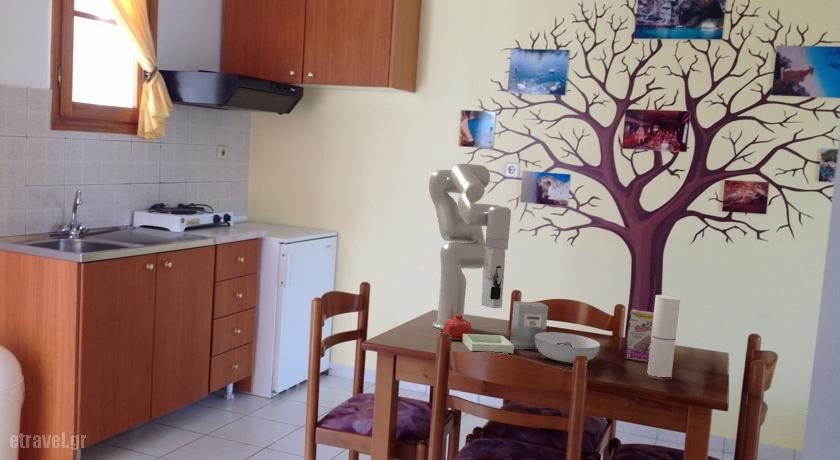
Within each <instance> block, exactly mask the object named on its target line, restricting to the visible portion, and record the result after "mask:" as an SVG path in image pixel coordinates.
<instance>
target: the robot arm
mask: <svg viewBox="0 0 840 460" xmlns="http://www.w3.org/2000/svg"><path fill="white" fill-rule="evenodd" d="M490 180H491V175H490V171H489V169H488V167H486V166H485V165H481V164H472V163H471V164H470V163H458V164H456V165H454V166H453V167H452V168H451V169H440V170H435V171H433V172H432V173H431V175H430V177H429V182H428V191H429V195H430V199H431V200H432V203H433V205H434V208H435V211H436V217H437V223H438V227H439V233H440V236H441V239H442V240H444V241H447V242H446V243H445V244H443V245H442V247H441V248H440V254H439V258H440V282H439V283H440V284H439V295H438V304H437V305H438V307H437V318H436V320H434V321H433V322H432V327H433V328H436V329H440V330H443V329H444V326H445V323H446V321H447V320H448V319H452V318H456V315H457V314H460V315H462V316H463V317H462V319H464V316H465V315H464V314H465V313H464V312H465V304H466V303H465V301H466V291H467V290H466V289H467V278H466V275H465V274H464V272H463V269H469V270H473V269H477V270H478V269H482V271H483V270H485V276H486V277H487V278H489V279H491V277H492V287H491V293H490V299H496V300H499V299H500V293H501V283H502V281H501V280H502V278H503V276H504V277H505V265H506V263H505V262H506V250H507V251H508V250H509V238H510V229H511V218H512V217H511V216H512V211H511V208H510V207H506V206H501V205H499V204H489V203H477V202H479V201H480V200H481V199H482V198H483V197H484V195H485V191H486V190H485V188H487V187H488V185H489V183H490ZM449 193H450V194H451V193H453V194H459V197H458V200H457V202H456V200H455V199H454V198H453V197H452V196H451V195H450V194H449ZM483 227H486V233H485V235H484V231H483ZM484 236H485V237H484ZM495 273H496V276H497V278H494V276H495ZM494 280H496V281H494Z"/></svg>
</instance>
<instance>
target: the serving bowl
mask: <svg viewBox="0 0 840 460" xmlns="http://www.w3.org/2000/svg"><path fill="white" fill-rule="evenodd" d="M534 337H535V345H536V347H537V349H538V350H537V351H538V352H539V353H540V354H541V355H542V356H544V357H546V358H548V359H551V360H552V359H553V360H552V361H554V360H557V361H562V362H569V363H568V364H570V363H573V360H574V358H575V356H586V357H587V359H588V361H587V362H589V361H591V360H593V359H594V358H596V356H597V355H598V353H599V352H600V347H601V344H600V342H598V341H597V340H595V339H594V338H589V337H586V336H583V335H579V334H578V335H577V334H573V333H566V332H557V331H556V332H555V331H551V332H550V331H549V332H547V331H546V332H543V333H538V334H536V335H535V336H534ZM566 342H570V343H571V345H572V347H569V346H563V345H557V343H566ZM557 361H556V362H557ZM562 362H561V363H562Z"/></svg>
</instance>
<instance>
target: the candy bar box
mask: <svg viewBox="0 0 840 460" xmlns="http://www.w3.org/2000/svg"><path fill="white" fill-rule="evenodd" d="M653 316H654V312H651V311H646V310H645V311H644V310H637V309H630V312H629V319H628V320H629V321H628V326H627V334H626V336H627V337H626V342H625V343H626V344H625V352H624V358H625V357H630V358H637V359H644V360H649V352H650V343H651V334H652V325H653Z"/></svg>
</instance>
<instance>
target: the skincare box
mask: <svg viewBox="0 0 840 460" xmlns="http://www.w3.org/2000/svg"><path fill="white" fill-rule="evenodd" d="M504 277H505V275H504V276H503V278H502V280H501V281H502V283H501V293H500V299H499V300H496V299H490V293H491V287H492V277H491V279H489V278H487V277H486V276H485V270H483V269H482V287H481V303H480V304H481V306H484V307H488V308H490V309H502V307H503V295H504V282H505V281H504V279H505V278H504ZM494 278H497V276H496V273H495V276H494ZM494 281H496V280H494Z"/></svg>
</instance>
